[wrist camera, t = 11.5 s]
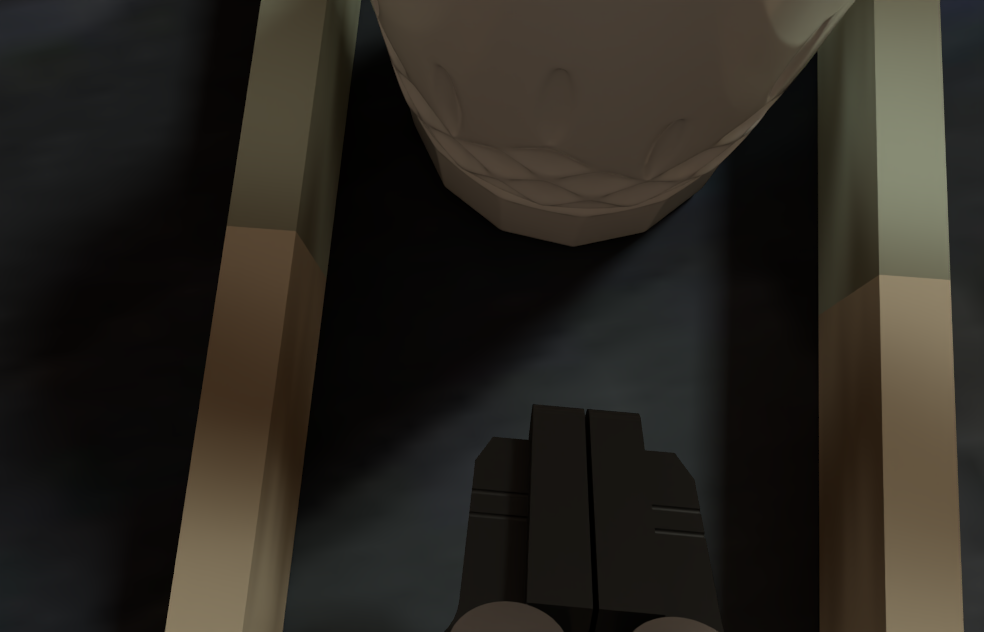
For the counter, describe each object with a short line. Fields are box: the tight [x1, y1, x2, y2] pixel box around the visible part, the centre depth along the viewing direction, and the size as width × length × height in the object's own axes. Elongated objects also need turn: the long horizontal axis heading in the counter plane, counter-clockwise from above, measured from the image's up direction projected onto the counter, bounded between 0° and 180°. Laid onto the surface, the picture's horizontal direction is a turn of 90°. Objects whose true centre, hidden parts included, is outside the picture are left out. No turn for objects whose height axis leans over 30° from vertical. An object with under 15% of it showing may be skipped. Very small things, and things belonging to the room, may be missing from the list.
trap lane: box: [165, 0, 964, 632], centre depth 16 cm, size 32×12×3 cm, turn 176°
